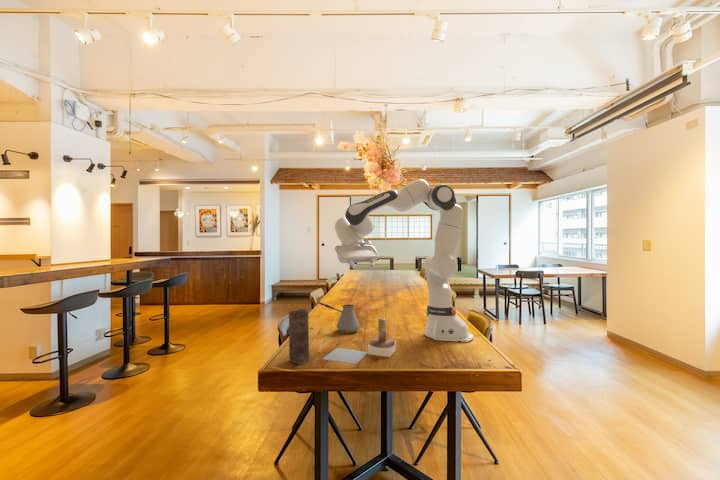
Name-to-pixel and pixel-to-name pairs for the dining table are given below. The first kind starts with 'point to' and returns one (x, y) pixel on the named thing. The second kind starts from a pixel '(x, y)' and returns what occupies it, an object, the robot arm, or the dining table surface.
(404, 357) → the dining table surface
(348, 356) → the mat
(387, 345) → the lid
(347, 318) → the coffee pot
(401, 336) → the dining table surface
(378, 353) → the dish
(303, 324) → the candle
